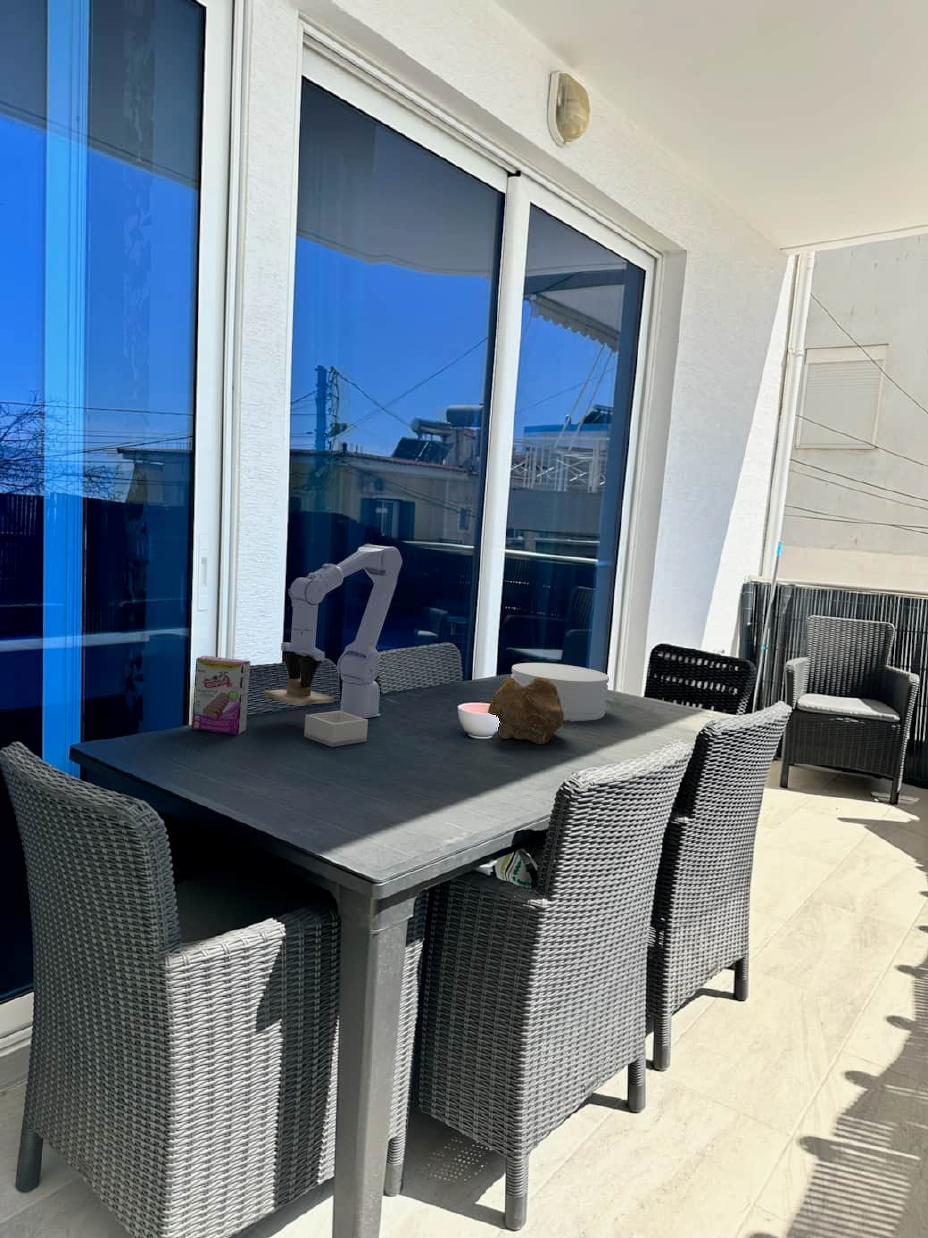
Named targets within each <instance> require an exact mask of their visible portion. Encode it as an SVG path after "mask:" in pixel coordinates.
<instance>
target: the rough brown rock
mask: <svg viewBox="0 0 928 1238" xmlns="http://www.w3.org/2000/svg"><path fill="white" fill-rule="evenodd" d="M488 713H490V714H492V715H496V717H497V716H498V718H499V721H500V723H499V727H498V731H497V734H498V735H499V736H500V738H502V739H510V738H514V739H516V740H529V741H531V743H535V744H537V745H539V744H542V745H545V744H546V743H548V742H549V741H550V740H551V738H552V737H553V736H554V734H555V733H556V732H557V730H559V729H560V728H561V727H562V725H563V724H564V722H565V721H564V720H563V718H564V713H563V710H562V709H561V703H560V699H559V696H558V692H557V689H556V686H555V685H554V684H553V683H552V682H551V681H550V680H547V679H545V678H542V677H536V678H535V679H533V680H532V681H531V682H530V683H529V684H528V685H527V686H521V685H520V684H519V683H518V682H516V681H515V679H514V678H512V677H511V676H506V677H505V678H504V679H503V681H502V683H501V686H500V687H499V689H498V690H497V691H496V692H495V693H494V696H493V698H492V700H491V701H490V704H489V706H488V709H487V714H488Z"/></svg>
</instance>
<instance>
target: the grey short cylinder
mask: <svg viewBox="0 0 928 1238" xmlns="http://www.w3.org/2000/svg"><path fill="white" fill-rule="evenodd" d="M511 673H512V674H511V675H510V677H512V678H514V679H515V681H516V682H518V683H519V684H520V685H521V686H527V685H528V684H529V683H530V682H531V681H532V680H533V679H535V678H536V677H542V678H545V679H547V680H550V681H551V682H552V683H553V684H554V685H555V686H556V689H557V692H558V696H559V699H560V703H561V709H562V710H563V713H564V718H563V719H573V720H581V719H592V718H597V717H600V716H602V715H604V714H605V715H606V707H607V702H606V701H607V699H608V693H607V692H608V691H609V690H608V689H609V685H608V683H609V680H610V676H609V675H607V674H606V673H604V672H601V671H598V670H595V669H590V668H586V667H581V666H576V665H575V666H574V665H570V664H569V665H568V664H561V663H548V662H524V663H516V664H513V665H512V666H511Z"/></svg>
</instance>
